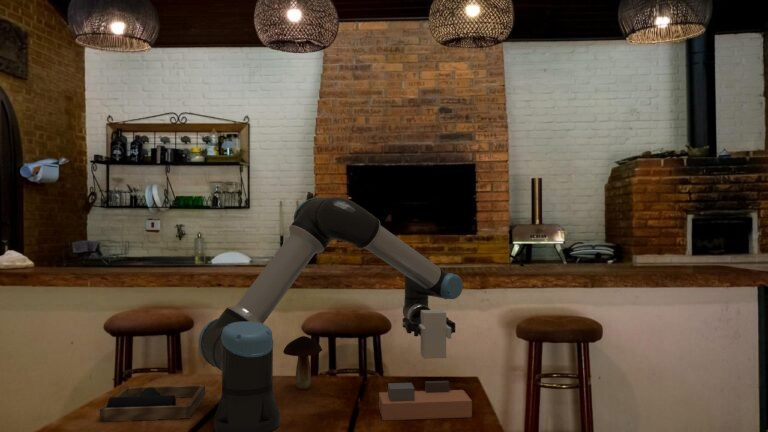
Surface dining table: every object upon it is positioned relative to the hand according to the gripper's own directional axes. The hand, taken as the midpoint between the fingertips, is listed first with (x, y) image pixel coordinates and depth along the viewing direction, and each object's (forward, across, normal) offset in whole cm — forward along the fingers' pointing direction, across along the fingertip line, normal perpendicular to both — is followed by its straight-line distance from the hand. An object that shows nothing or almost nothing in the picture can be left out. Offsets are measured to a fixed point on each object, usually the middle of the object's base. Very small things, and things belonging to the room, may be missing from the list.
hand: (437, 333), depth 149 cm
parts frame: (-6, +72, -19) cm, 75 cm away
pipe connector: (-4, +74, -19) cm, 77 cm away
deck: (+1, +4, -19) cm, 19 cm away
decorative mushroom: (-19, +35, -19) cm, 44 cm away
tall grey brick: (-5, 0, -7) cm, 9 cm away
